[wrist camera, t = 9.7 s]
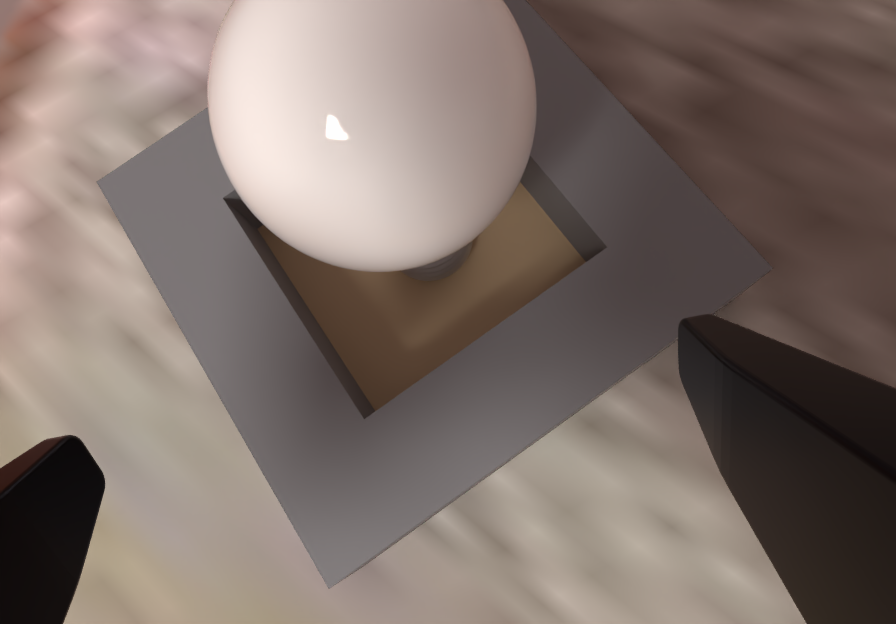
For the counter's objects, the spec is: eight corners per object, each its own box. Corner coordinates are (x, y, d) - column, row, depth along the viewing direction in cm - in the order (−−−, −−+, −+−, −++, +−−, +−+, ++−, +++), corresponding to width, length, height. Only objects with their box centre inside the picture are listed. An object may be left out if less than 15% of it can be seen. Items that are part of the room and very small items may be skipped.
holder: (359, 569, 18) (328, 588, 15) (152, 219, 22) (96, 181, 19) (734, 298, 19) (772, 268, 16) (472, 2, 23) (464, -66, 20)
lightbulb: (568, 210, 20) (619, -91, 9) (467, 381, 19) (392, 269, 8) (402, 128, 21) (279, -213, 10) (301, 284, 20) (52, 81, 10)
